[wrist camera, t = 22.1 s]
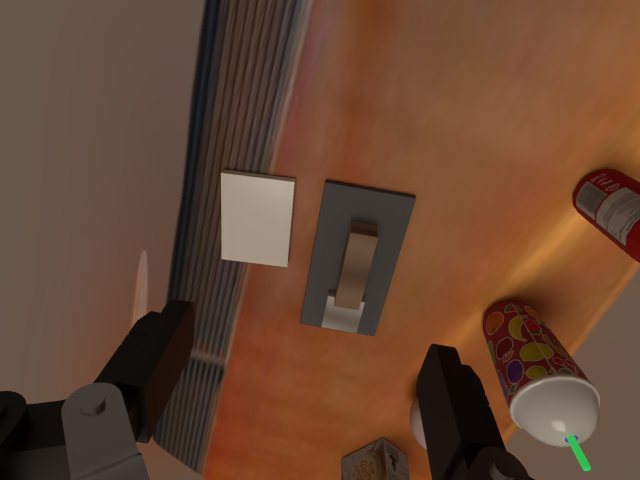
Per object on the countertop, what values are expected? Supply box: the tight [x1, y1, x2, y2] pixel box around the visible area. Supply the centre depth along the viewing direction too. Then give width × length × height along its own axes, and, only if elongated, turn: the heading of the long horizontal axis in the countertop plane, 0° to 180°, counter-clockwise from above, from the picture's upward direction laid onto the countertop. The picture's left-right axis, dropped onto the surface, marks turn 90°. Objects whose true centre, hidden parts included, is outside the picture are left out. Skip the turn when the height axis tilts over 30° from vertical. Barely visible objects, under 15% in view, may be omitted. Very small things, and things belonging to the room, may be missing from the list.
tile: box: [221, 170, 296, 267], centre depth 47 cm, size 8×2×11 cm
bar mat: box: [300, 180, 416, 336], centre depth 49 cm, size 10×20×1 cm, turn 171°
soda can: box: [573, 169, 640, 263], centre depth 38 cm, size 6×6×12 cm
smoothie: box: [483, 300, 600, 471], centre depth 43 cm, size 8×8×20 cm
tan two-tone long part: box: [321, 221, 378, 333], centre depth 48 cm, size 15×5×3 cm, turn 171°
